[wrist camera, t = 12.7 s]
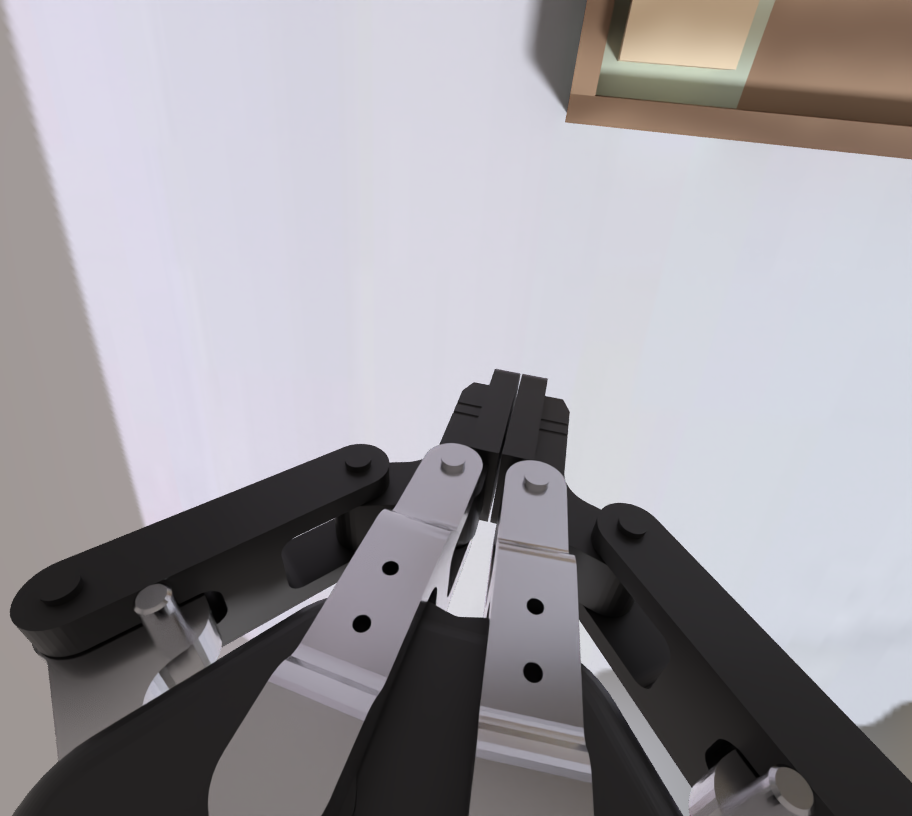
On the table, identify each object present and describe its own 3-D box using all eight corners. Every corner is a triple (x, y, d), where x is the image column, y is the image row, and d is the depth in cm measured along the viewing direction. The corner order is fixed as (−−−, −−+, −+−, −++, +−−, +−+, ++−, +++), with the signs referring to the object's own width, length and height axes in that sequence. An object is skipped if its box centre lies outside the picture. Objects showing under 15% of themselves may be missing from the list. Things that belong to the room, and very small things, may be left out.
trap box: (614, -134, 27) (617, -169, 23) (1325, -117, 22) (1487, -158, 18) (569, 116, 34) (565, 122, 30) (1096, 171, 29) (1175, 187, 25)
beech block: (642, -52, 26) (647, -69, 23) (758, -46, 25) (781, -63, 22) (617, 60, 29) (619, 59, 26) (720, 69, 28) (735, 69, 25)
